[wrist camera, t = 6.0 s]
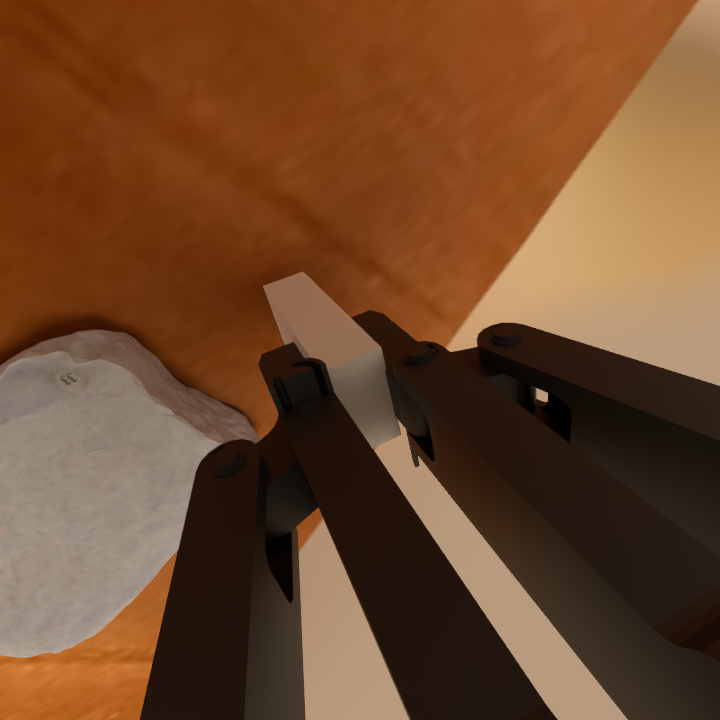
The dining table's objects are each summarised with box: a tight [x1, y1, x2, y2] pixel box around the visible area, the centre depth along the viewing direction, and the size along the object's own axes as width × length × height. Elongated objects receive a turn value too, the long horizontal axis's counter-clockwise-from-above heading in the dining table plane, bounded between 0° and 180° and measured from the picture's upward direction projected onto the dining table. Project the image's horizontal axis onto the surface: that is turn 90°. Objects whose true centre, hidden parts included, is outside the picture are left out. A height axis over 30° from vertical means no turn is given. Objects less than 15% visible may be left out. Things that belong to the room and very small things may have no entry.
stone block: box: [0, 329, 260, 658], centre depth 16 cm, size 12×5×10 cm
